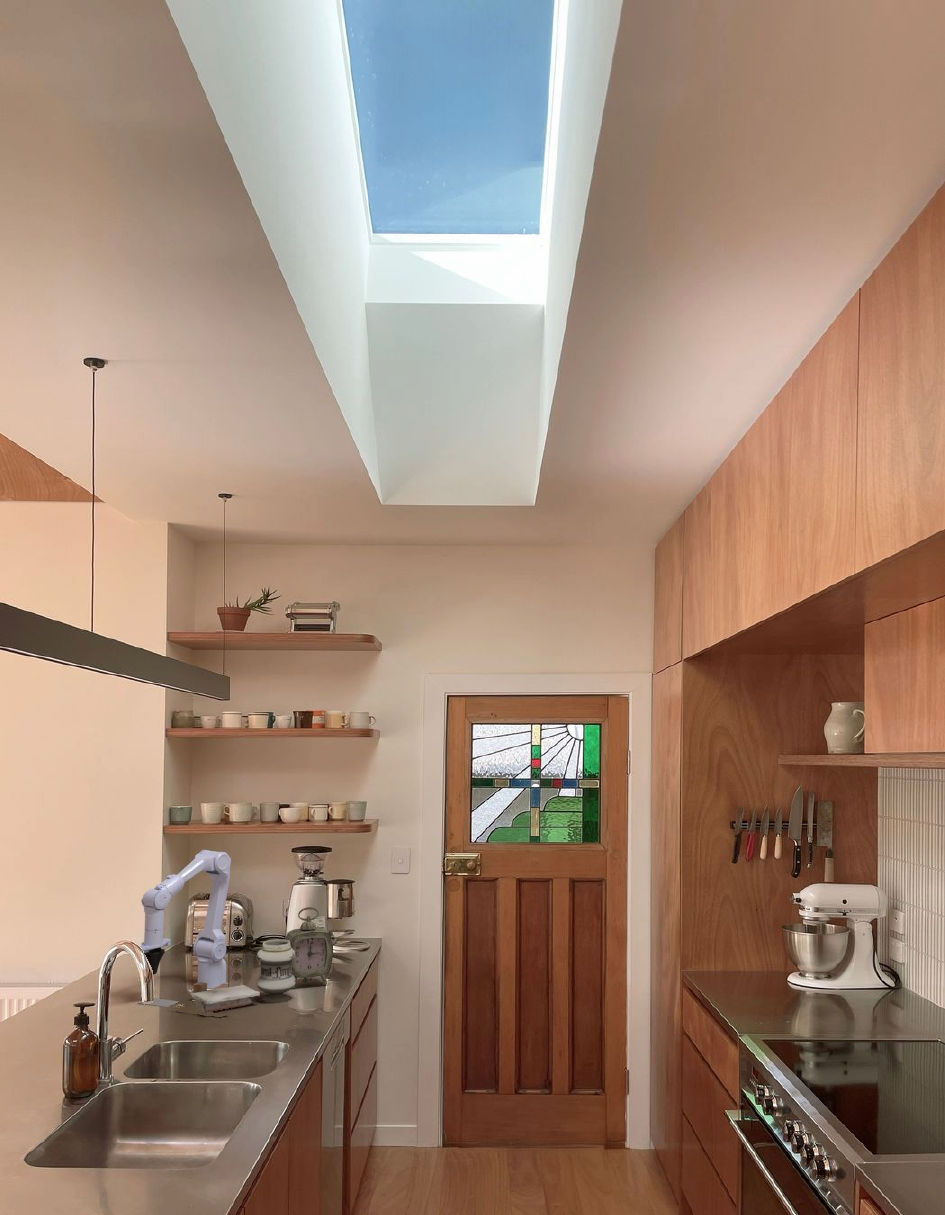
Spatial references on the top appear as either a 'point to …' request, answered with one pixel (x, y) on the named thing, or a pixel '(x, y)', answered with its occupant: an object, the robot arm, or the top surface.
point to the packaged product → (223, 998)
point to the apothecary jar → (276, 970)
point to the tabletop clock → (310, 949)
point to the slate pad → (160, 1002)
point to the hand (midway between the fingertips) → (152, 973)
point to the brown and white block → (199, 987)
